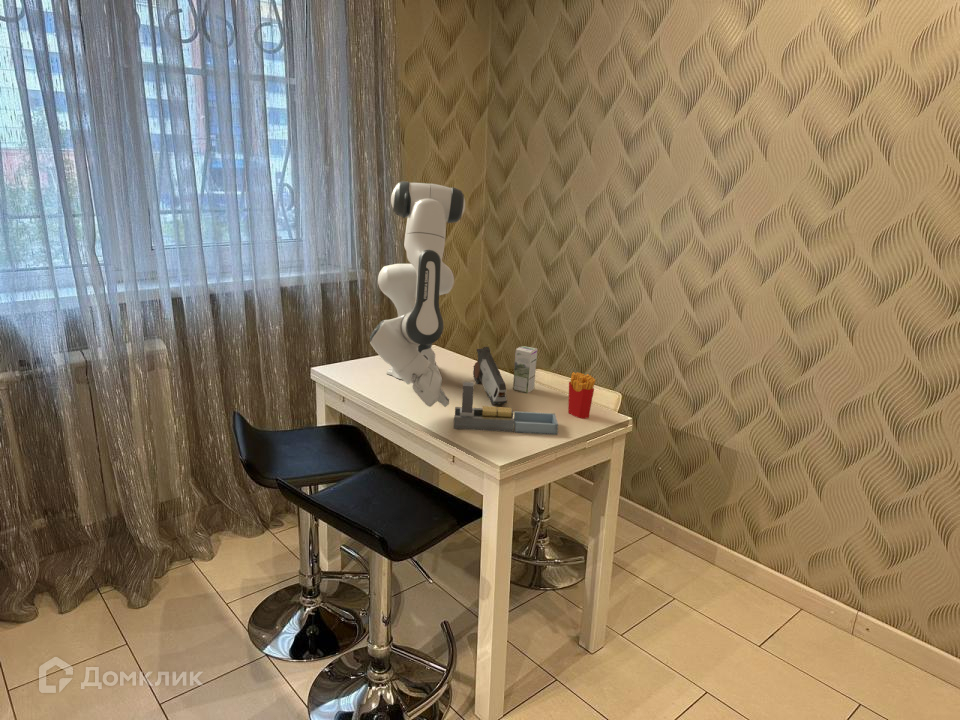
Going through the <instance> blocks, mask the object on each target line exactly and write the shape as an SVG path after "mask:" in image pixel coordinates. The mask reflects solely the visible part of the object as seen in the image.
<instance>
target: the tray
mask: <svg viewBox="0 0 960 720" xmlns="http://www.w3.org/2000/svg"><path fill="white" fill-rule="evenodd" d="M513 419H514V432H515V433H517V434H518V433H519V434H536V435H539V434H540V435H553V436H554V435H555V436H557V435H558V432H559V431H558V430H559V424H558V420H557V416H556V413H552V412H551V413H550V412H534V411H532V412H531V411H517V410H516V411H514V410H513Z"/></svg>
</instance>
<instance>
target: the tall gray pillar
mask: <svg viewBox="0 0 960 720" xmlns="http://www.w3.org/2000/svg"><path fill="white" fill-rule="evenodd" d="M474 382H475V381H474ZM474 382H472V381H471V382H470V381H463V383H462V397H461V399H462V400H461V407H462V408H460V416H474V408H475V407H473V404H474V403H473V402H474V388H475V387H474V386H475V383H474Z"/></svg>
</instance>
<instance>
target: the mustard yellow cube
mask: <svg viewBox="0 0 960 720" xmlns="http://www.w3.org/2000/svg"><path fill="white" fill-rule="evenodd" d="M496 407H497V418H511V416H512V410H513V409H512V407H505V406H504V407H503V406H502V407H501V406H496Z"/></svg>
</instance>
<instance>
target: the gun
mask: <svg viewBox="0 0 960 720" xmlns="http://www.w3.org/2000/svg"><path fill="white" fill-rule="evenodd" d="M476 353H477V361H476V362H475V363H474V364H473V371H472V375H473V379H474V382H475V384H476V385H482V386H483V388H484V391H485V393H486V394H487V398H488V399H489V403H490V404H491V405H504V404H507V403H508V399H507V398H508V397H507V386H506V383H505V381H504V379H503V376H502V374H501V372H500V369H499V368H498V365H497V363H496V361H495V359H494V358H493V356H492V355H493V354H492V353H491V349H490V347H489V346H483V348H477V349H476Z"/></svg>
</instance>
